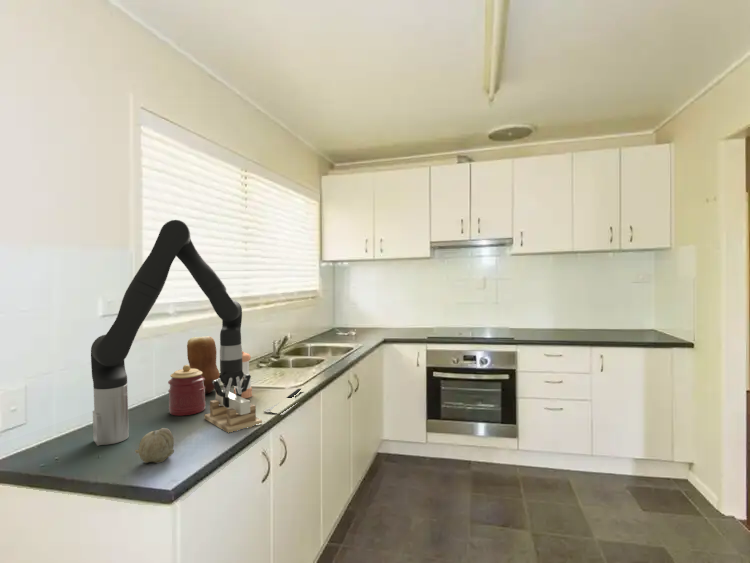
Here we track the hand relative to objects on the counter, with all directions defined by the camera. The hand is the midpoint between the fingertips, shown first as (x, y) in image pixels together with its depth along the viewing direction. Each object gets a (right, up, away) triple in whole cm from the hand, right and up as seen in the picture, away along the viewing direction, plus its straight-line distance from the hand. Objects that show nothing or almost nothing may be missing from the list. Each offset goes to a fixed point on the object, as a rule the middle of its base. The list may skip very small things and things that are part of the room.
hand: (232, 405), depth 156 cm
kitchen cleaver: (+16, -5, +23) cm, 28 cm away
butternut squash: (-24, -5, +37) cm, 45 cm away
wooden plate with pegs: (0, -6, 0) cm, 6 cm away
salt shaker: (-6, -5, +31) cm, 32 cm away
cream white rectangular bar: (0, -1, 0) cm, 1 cm away
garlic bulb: (-11, -7, -32) cm, 35 cm away
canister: (-21, -6, +13) cm, 26 cm away
